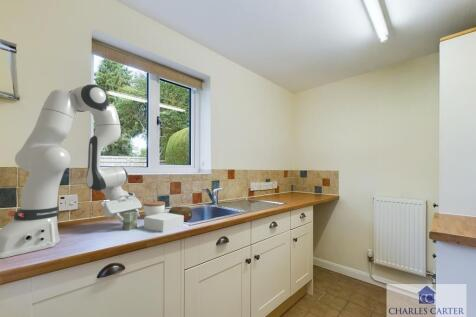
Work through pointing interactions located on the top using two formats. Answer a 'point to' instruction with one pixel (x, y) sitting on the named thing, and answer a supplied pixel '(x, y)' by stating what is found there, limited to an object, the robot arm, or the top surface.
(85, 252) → the top surface
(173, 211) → the brown rounded slab
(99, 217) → the top surface
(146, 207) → the lidded bowl
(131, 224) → the sage block
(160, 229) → the white square box
